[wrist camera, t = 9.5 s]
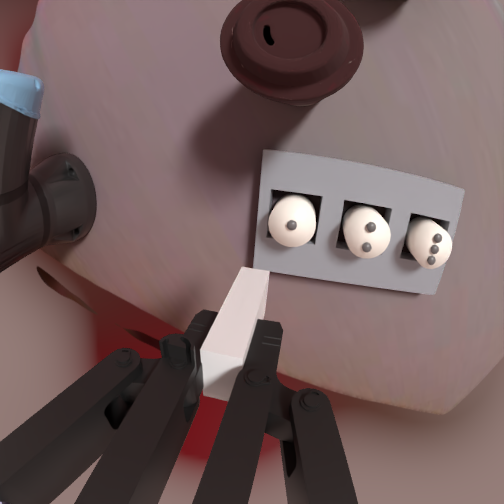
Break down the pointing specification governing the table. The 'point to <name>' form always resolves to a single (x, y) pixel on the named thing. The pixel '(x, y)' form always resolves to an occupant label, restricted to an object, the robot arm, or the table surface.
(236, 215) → the table surface
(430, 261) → the button
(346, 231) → the button
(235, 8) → the coffee cup
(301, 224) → the button
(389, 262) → the console
